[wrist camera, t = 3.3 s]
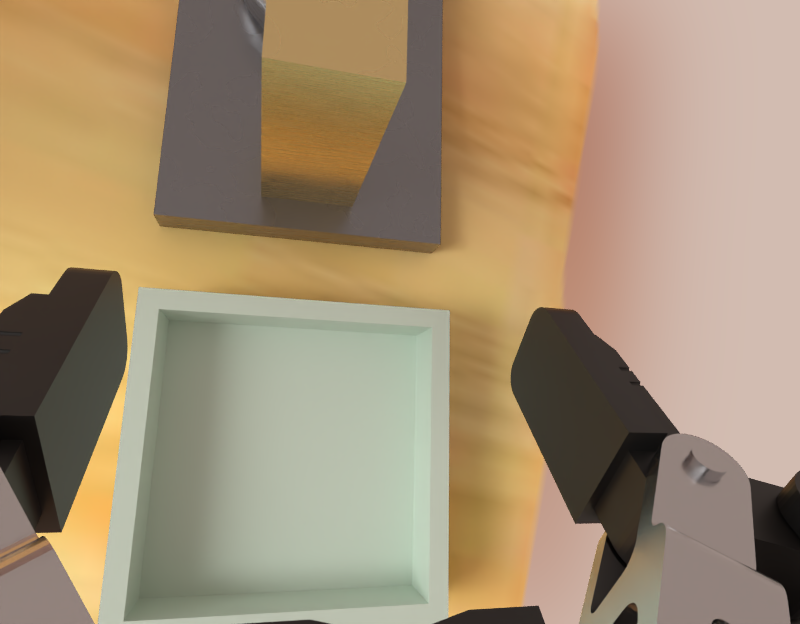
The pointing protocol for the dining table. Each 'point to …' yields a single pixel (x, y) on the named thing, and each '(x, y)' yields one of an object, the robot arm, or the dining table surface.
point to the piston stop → (328, 93)
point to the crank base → (241, 139)
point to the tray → (281, 464)
